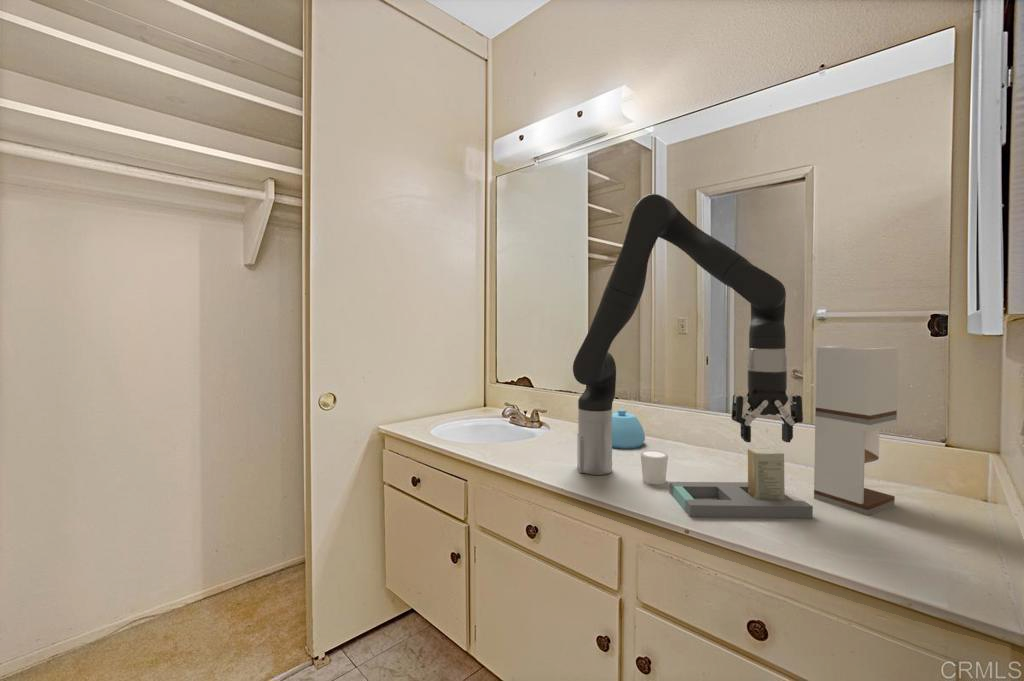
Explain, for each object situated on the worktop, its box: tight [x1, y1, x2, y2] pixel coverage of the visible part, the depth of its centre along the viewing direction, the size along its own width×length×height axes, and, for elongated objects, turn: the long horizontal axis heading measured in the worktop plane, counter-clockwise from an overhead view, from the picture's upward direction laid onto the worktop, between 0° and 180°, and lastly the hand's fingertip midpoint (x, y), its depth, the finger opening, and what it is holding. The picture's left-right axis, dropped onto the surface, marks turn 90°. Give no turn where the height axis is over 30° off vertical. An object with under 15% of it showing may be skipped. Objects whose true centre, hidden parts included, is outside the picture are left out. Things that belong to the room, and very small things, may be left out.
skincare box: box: [747, 448, 785, 501], centre depth 100 cm, size 6×4×12 cm
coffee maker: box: [813, 345, 899, 517], centre depth 101 cm, size 11×11×35 cm
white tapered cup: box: [640, 450, 669, 485], centre depth 116 cm, size 7×7×7 cm
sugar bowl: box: [612, 408, 646, 450], centre depth 152 cm, size 15×15×12 cm
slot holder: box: [668, 481, 814, 519], centre depth 101 cm, size 25×14×2 cm, turn 88°
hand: (766, 441), depth 100 cm, fingers open, 8 cm apart
